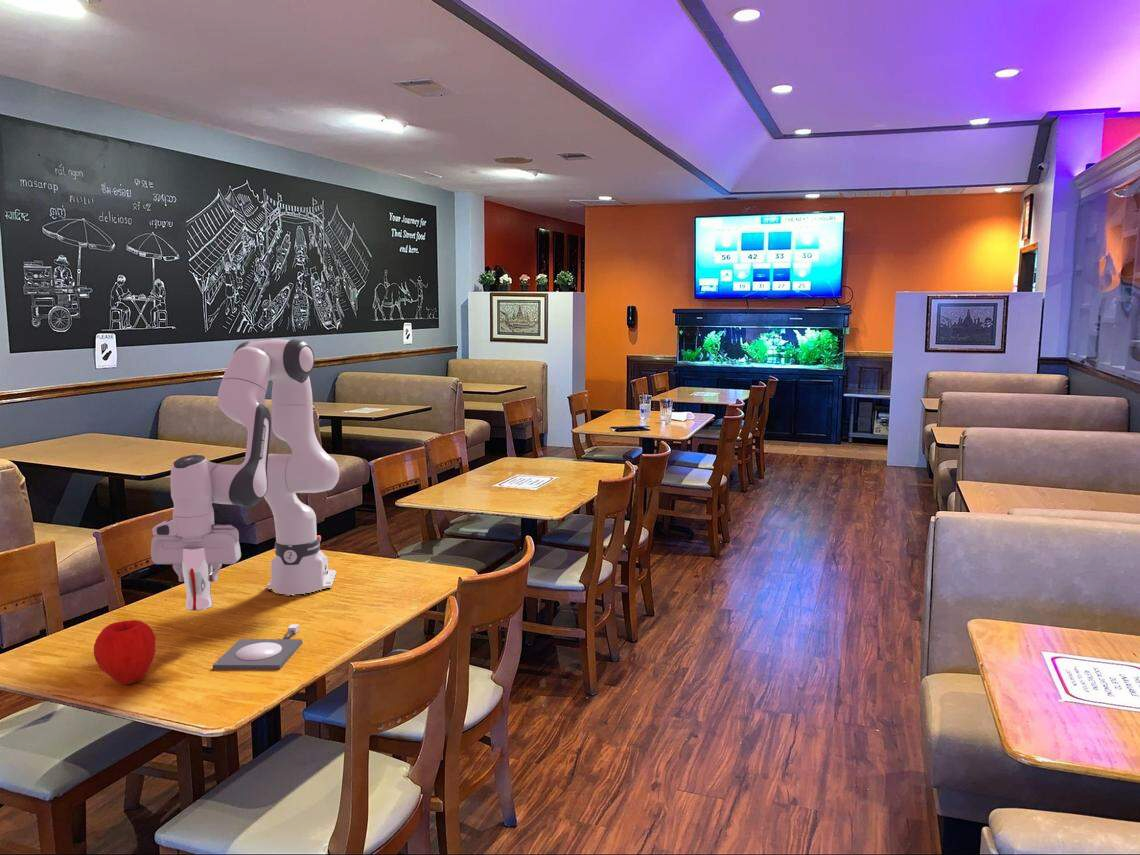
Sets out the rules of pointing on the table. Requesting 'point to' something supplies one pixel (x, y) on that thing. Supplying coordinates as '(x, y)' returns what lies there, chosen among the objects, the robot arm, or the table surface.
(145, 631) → the apple
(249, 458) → the robot arm
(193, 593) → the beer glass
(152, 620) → the table surface
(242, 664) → the charging dock
